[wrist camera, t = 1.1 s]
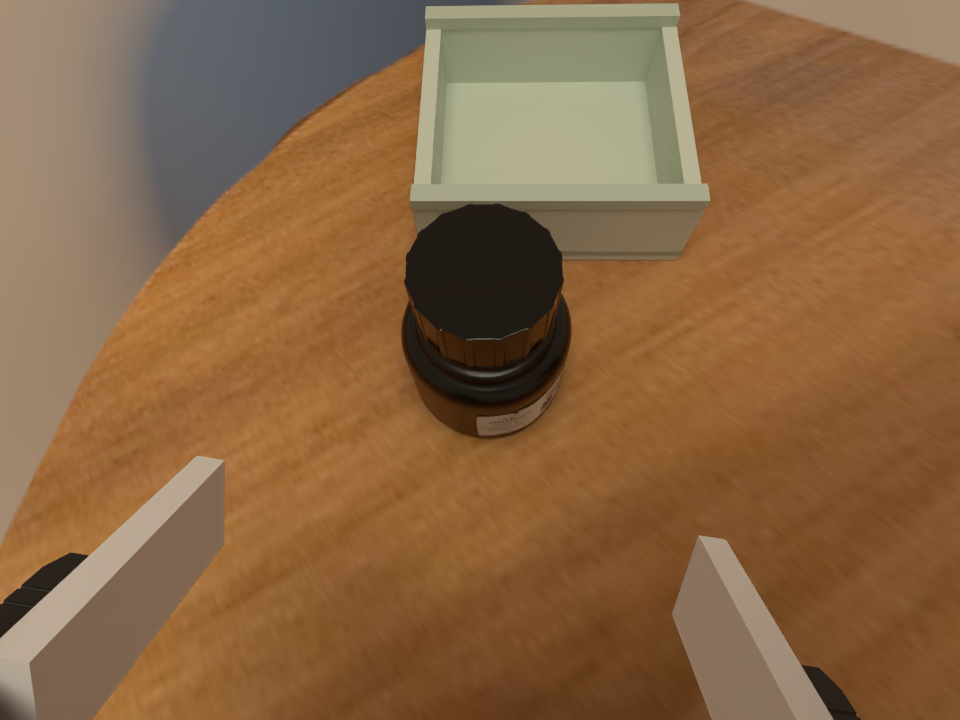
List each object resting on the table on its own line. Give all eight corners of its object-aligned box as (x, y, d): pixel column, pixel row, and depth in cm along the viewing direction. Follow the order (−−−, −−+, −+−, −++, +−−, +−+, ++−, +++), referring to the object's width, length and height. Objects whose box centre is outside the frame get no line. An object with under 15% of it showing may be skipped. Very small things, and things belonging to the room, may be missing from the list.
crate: (653, 81, 43) (678, 3, 38) (677, 261, 37) (710, 200, 32) (435, 83, 44) (426, 6, 38) (423, 260, 38) (409, 201, 32)
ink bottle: (515, 472, 32) (525, 412, 21) (386, 404, 34) (333, 316, 23) (585, 337, 36) (625, 223, 24) (463, 281, 37) (449, 150, 26)
